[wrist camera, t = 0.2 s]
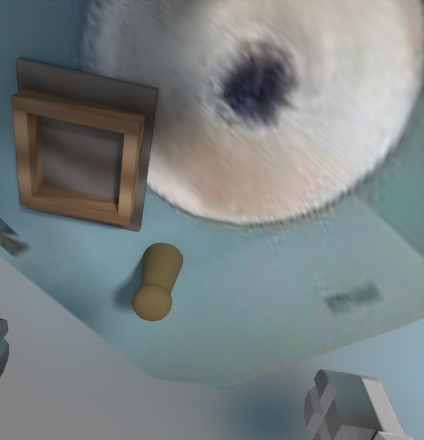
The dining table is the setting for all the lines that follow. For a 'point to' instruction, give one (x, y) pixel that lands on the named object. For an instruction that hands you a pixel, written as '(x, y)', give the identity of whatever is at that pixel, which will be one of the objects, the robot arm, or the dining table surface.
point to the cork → (157, 281)
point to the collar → (82, 143)
